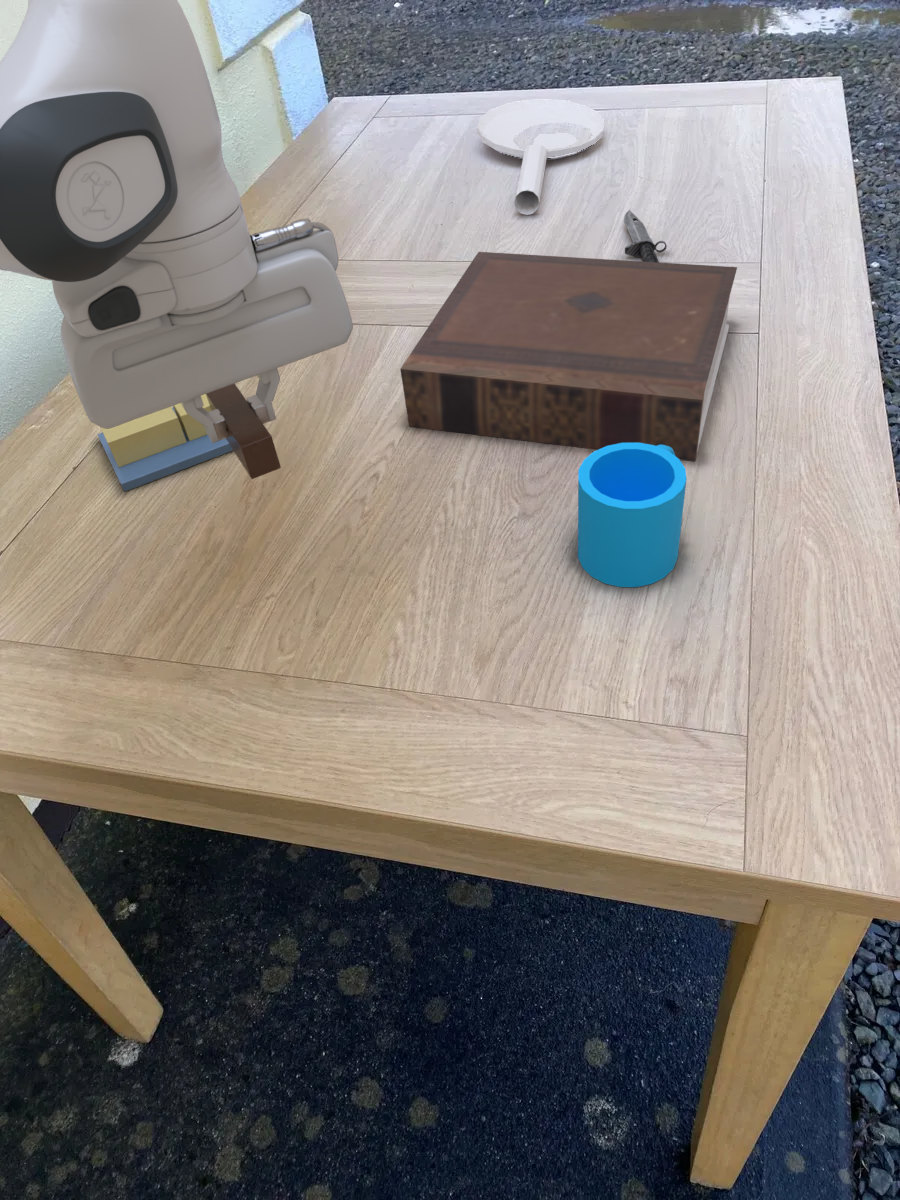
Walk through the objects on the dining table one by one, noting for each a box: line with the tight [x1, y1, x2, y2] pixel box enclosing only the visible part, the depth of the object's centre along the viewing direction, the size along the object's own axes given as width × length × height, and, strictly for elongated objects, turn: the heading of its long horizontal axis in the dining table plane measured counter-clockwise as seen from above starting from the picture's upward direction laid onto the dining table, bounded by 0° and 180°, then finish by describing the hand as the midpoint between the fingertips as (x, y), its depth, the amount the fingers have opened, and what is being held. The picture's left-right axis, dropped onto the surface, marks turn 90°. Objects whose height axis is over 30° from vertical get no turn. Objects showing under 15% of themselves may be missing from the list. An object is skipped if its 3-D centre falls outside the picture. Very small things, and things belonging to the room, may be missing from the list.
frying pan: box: [476, 98, 605, 216], centre depth 133 cm, size 35×19×5 cm, turn 172°
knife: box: [623, 209, 668, 263], centre depth 111 cm, size 19×2×5 cm
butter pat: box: [172, 394, 212, 441], centre depth 92 cm, size 4×4×3 cm
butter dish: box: [97, 406, 234, 492], centre depth 92 cm, size 14×10×4 cm
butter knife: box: [206, 383, 282, 480], centre depth 74 cm, size 2×20×3 cm, turn 28°
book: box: [400, 251, 738, 462], centre depth 92 cm, size 24×28×6 cm
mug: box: [577, 443, 688, 588], centre depth 73 cm, size 12×8×8 cm
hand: (241, 428), depth 70 cm, fingers closed on butter knife, 2 cm apart
